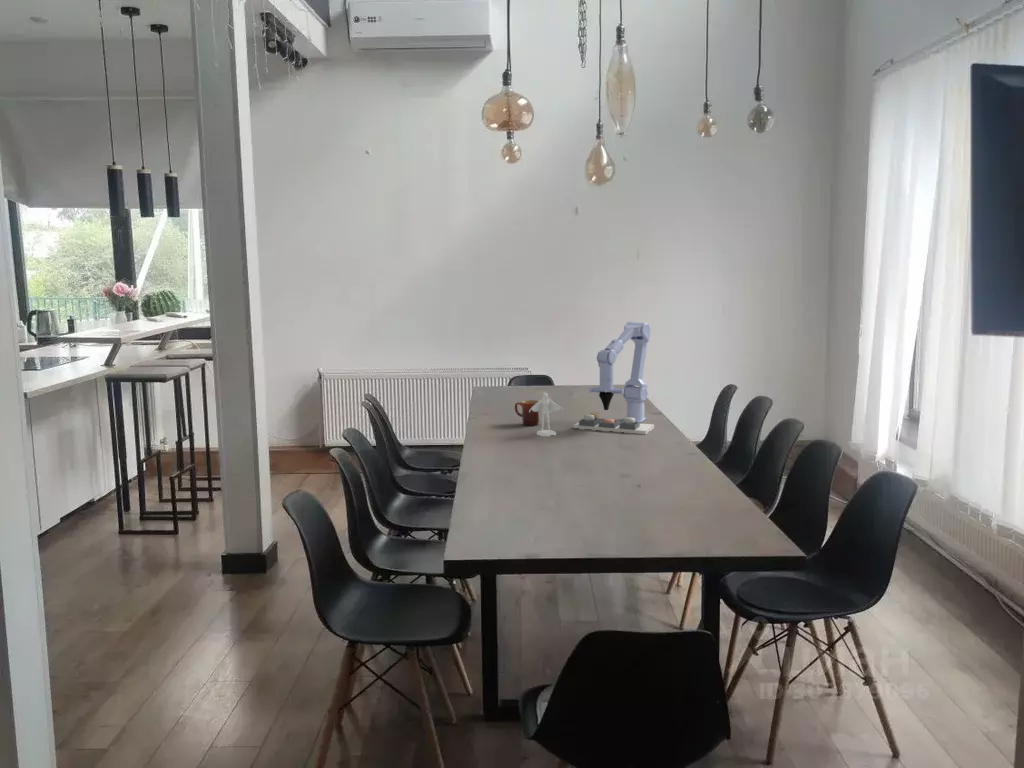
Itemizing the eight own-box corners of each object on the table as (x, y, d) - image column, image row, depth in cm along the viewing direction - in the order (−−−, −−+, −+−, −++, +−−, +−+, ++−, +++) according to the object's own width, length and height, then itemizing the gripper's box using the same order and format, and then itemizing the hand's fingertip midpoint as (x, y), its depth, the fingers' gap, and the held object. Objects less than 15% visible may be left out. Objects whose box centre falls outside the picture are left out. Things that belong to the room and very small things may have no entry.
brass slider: (592, 419, 357) (592, 411, 356) (599, 420, 356) (599, 412, 355) (589, 421, 353) (589, 413, 353) (596, 421, 352) (596, 413, 352)
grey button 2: (625, 422, 344) (625, 416, 343) (636, 423, 342) (636, 417, 341) (622, 424, 340) (622, 419, 339) (633, 425, 338) (633, 419, 337)
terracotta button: (605, 424, 348) (605, 418, 347) (615, 425, 346) (616, 419, 345) (602, 426, 343) (602, 420, 343) (612, 427, 342) (612, 421, 341)
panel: (583, 422, 360) (583, 414, 359) (654, 427, 347) (654, 419, 346) (573, 428, 348) (573, 420, 347) (645, 434, 334) (645, 426, 334)
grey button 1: (585, 419, 351) (585, 414, 351) (595, 420, 349) (595, 414, 349) (582, 421, 347) (582, 416, 347) (592, 422, 345) (592, 416, 345)
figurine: (529, 436, 334) (528, 393, 331) (530, 430, 345) (529, 389, 342) (564, 436, 334) (563, 393, 331) (563, 430, 344) (563, 389, 341)
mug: (543, 423, 359) (543, 400, 357) (535, 427, 351) (534, 404, 350) (519, 421, 365) (519, 399, 363) (510, 425, 357) (510, 402, 355)
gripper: (587, 378, 342) (587, 410, 344) (620, 380, 336) (620, 412, 338) (592, 376, 348) (592, 407, 350) (625, 378, 342) (624, 409, 345)
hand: (606, 409), depth 345 cm, fingers closed
